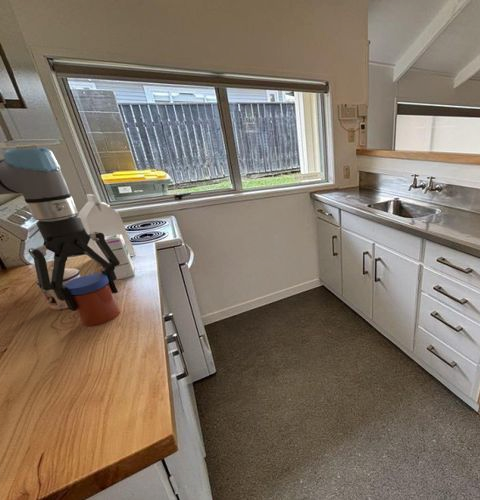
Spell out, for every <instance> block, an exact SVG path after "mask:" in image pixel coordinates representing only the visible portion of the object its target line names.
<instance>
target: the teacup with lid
mask: <svg viewBox="0 0 480 500" xmlns="http://www.w3.org/2000/svg"><path fill="white" fill-rule="evenodd" d="M52 272H53V266H51V267H50V268H49V270H48V274H49V280H50V283H51V279H52ZM79 277H82V276H81V272H80V270H79V269H77V268H74V267H73V268H66V267H65V270H64V277H63V283H62V285H63V286H64V285H65V284H66V283H68V282H69V281H71V280H73V279H76V278H79ZM36 285H37V286H39V283H38V278H37V279H36ZM40 289H41V288H40ZM41 292H42V294H43V296H44V297H45V300H46V301H47V304H48V305H49V307H50V309H52V310H59V311H60V310H65V309H69V308H68V306H67V304H66V302H65V300H63V301H61V300H59V299H58V298H57V296H56V294H55V292H54V290H48V291H46V290H43V289H41Z"/></svg>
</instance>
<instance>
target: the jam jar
mask: <svg viewBox="0 0 480 500" xmlns="http://www.w3.org/2000/svg"><path fill="white" fill-rule="evenodd" d="M71 296H72V298H73V301H74V303H75V305H76V307H77V309H78V310H76V311H75V312H76V313H77V316H78V317H79V319H80V321H81V323H82V325H83V326H85V327H95V326H100V325H102V324H105V323H108V322H110V321H112V320H113V319H115V318H116V317H118V316H119V315H120V314H121V309H120V307H119V305H118V302H117V300H116V297H115V295H114V293H113V292H112V290H111V287H110V285H109V283H108V284H107V285H105V286H104V287H102V288H100V289H97V290H95V291H92V292H88V293H84V294H79V295H71Z"/></svg>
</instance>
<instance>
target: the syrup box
mask: <svg viewBox="0 0 480 500" xmlns="http://www.w3.org/2000/svg"><path fill="white" fill-rule="evenodd" d="M104 238H105V241H106V243H107V244H108V246H109V247H110V249H111V250H112V252H113V253H114V255H115V256H116V258H117V259H118V261H119V262H120V264H119V265H117V266H115V270H114V273H115V275H116V280H115V281H117V280H123V279H127V278H130V277H134V276H135V275H136V267H135V265H134V262H133V260H132V257H130V254H129V252H128V249H127V247H126V244H125V242H124V239H123V237H122V234H116V235H110V236H106V237H104ZM105 257H106V256H105ZM106 259H107V258H106ZM107 262H108V263H110V262H109V261H108V259H107Z"/></svg>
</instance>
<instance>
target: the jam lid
mask: <svg viewBox="0 0 480 500" xmlns="http://www.w3.org/2000/svg"><path fill="white" fill-rule="evenodd" d="M108 283H109V280H108V277H107V275H106V274H104V273H102V272H99V273H98V272H96V273H90V274H86V275H82V276H81V277H79V278H76V279H73V280H71V281H69V282H68V283H66V284H65V285H64V286H66V287H67V288H68V290H69V292H70V294H71V295H79V294H84V293H88V292H92V291H95V290H97V289H100V288H102V287H104V286H105V285H107V284H108Z"/></svg>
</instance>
